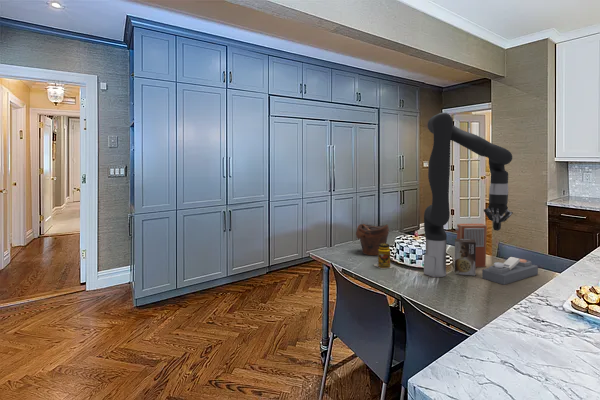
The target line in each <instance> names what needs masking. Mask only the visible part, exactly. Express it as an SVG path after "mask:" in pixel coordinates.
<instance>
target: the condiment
mask: <svg viewBox="0 0 600 400" xmlns="http://www.w3.org/2000/svg"><path fill="white" fill-rule="evenodd" d="M377 259H378V260H377V261H378V263H375V264H373V266H375V267H377V268H379V269H380V270H386V269H392V268H394V266H393V265H391V249H390V244H389V243H387V242H386V243H381V244H379V249H378V255H377Z"/></svg>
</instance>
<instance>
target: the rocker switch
mask: <svg viewBox="0 0 600 400" xmlns="http://www.w3.org/2000/svg"><path fill="white" fill-rule="evenodd" d="M520 259H521V258H518V257H513V256H510V257H508V259H506V260H505V261H504V262H502V263H503V264H504V265H503V267H507V268H508V270H511V269H512V268H513V267H514V266H515V265H516V264H518V263H519V262H520Z"/></svg>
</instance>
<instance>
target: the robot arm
mask: <svg viewBox="0 0 600 400" xmlns="http://www.w3.org/2000/svg"><path fill="white" fill-rule="evenodd" d="M427 128H428V130H429V132H430V133H431V134H433V144H432V148H431V149H432V150H431V153H430V157H429V161H428V168H427V169H428V172H427V173H428V175H427V177H428V182H429V186H430V191H431V194H432V195H431V196H432V197H431V198H432V199H431V204H430V205H429V206H427V207H426V208H425V210H424V213H423V230H424V235H425V254H423V274H424V275H426V276H430V277H431V278H432V277H433V278H442V277H446V275H447V245H448V244H447V239H448V238H447V232H446V230H445V229H444V228H445V227H444V226H445V225H446V224H448V222H449V220H450V199H449V194H450V175H451V172H450V171H451V142H455V144H458V145H460V146H462V147H464V148H465V149H468V150H470V152H473V154H474V153H475V154H477V155H478V156H480V157H484V158H488V167H489V172H490V185H489V194H488V197H489V198H488V203H489V204H488V207H487V208H486V209H485V208H484V209H483V212H484V214H485V215H486V217H487V218H488V220H489V221H491V222H492V228H493V231H497V232H499V231H501V229H502V223H503V222H504V223H505V222H506V221H507V220H508V219H509V218H510V217H511V216H512V215H513V211H510V210H509V208H508V201H509V173H508V171H507V170H506V169H505V166H506V165H509V164H510V163H511V162H512V160H513V153H512V152H511V151H510V150H508V149H506V148H505V147H502V146H500V145H497V144H495V143H491V142H490V141H489V140H487V139H485V138H483V137H481V136H480V135H477V134H474V133H472V132H470V131H469V132H468V131H466V130H463V129H460V128H459V127H457V126H455V125H454V120H453V118H452V116H451V114H450V113H447V112H440V113H437V114H435V115H433V116H432V117H430V118H429V119H428V121H427Z"/></svg>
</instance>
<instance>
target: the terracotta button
mask: <svg viewBox="0 0 600 400" xmlns="http://www.w3.org/2000/svg"><path fill="white" fill-rule="evenodd" d="M519 259H520V262H523V263H526V262H527V261H528V260H527V259H524V258H519Z"/></svg>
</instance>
